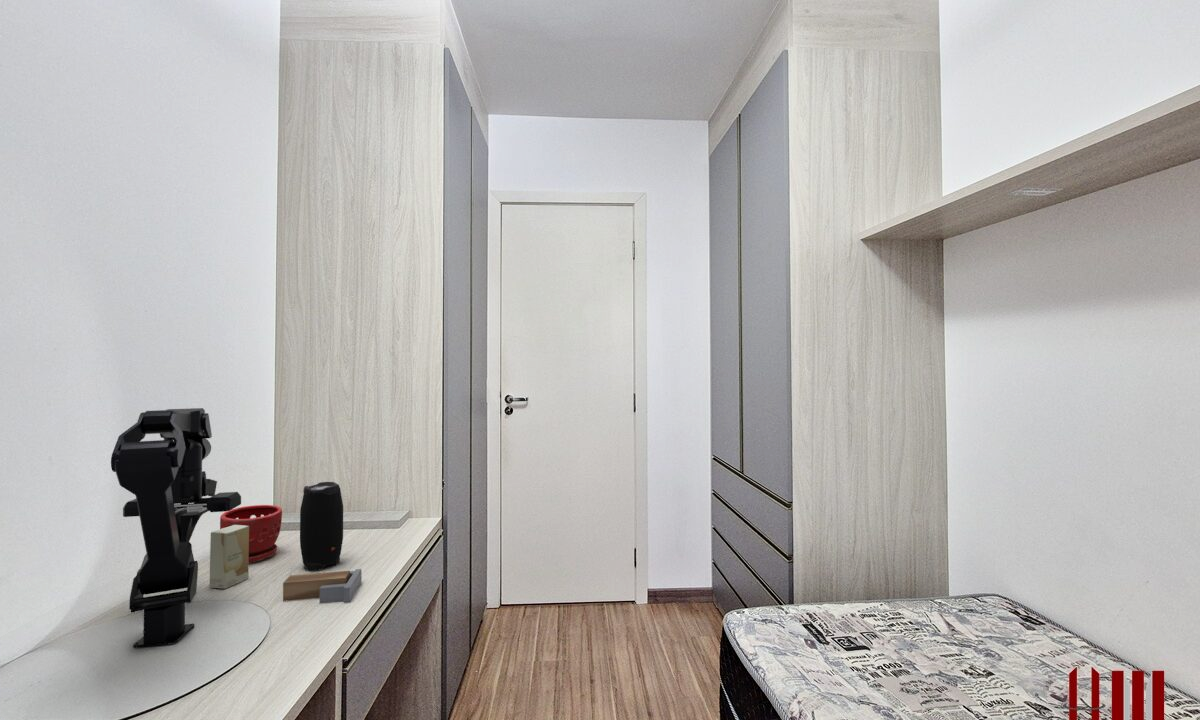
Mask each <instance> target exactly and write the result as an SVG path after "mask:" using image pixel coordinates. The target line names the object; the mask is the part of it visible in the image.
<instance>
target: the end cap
mask: <svg viewBox="0 0 1200 720" xmlns="http://www.w3.org/2000/svg"><path fill="white" fill-rule="evenodd" d="M349 571H350V579H349V581H348V582H347V584H335V585H323V586H321V587H320V598H319V604H325V603H334V602H335V603H336V602H337V603H338V602H343V603H350V602H351V601H352V599H353V598H354V596H355V594H356V593H357V591H358V590H359V589H358V588H359V587H360V585H361V584H362V575H363V574H362V568H356V569H355V570H349Z"/></svg>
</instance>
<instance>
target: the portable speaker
mask: <svg viewBox="0 0 1200 720" xmlns="http://www.w3.org/2000/svg"><path fill="white" fill-rule="evenodd" d="M302 491H303V492H302V493H303V496H302V500H301V505H300V509H299V510H300V511H299V518H300V519H299V545H300V552H301V553H300V554H301V558H302V564H303V566H304V568H305V569H306V570H307V572H308V571H310V572H311V571H315V572H316V571H322V570H324V568H325V567H326V566H330V565H332V564H333V565H334V566H337V565H338V564H339V563H340V561H341V558H340V557H341V555H342V548H343V540H344V503H343V497H342V492H341V487H340V484H338V483H337V482H335V481H323V482H322V481H321V482H318V483H316V484H313V485H306V486H305V485H304V487H303V490H302Z"/></svg>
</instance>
